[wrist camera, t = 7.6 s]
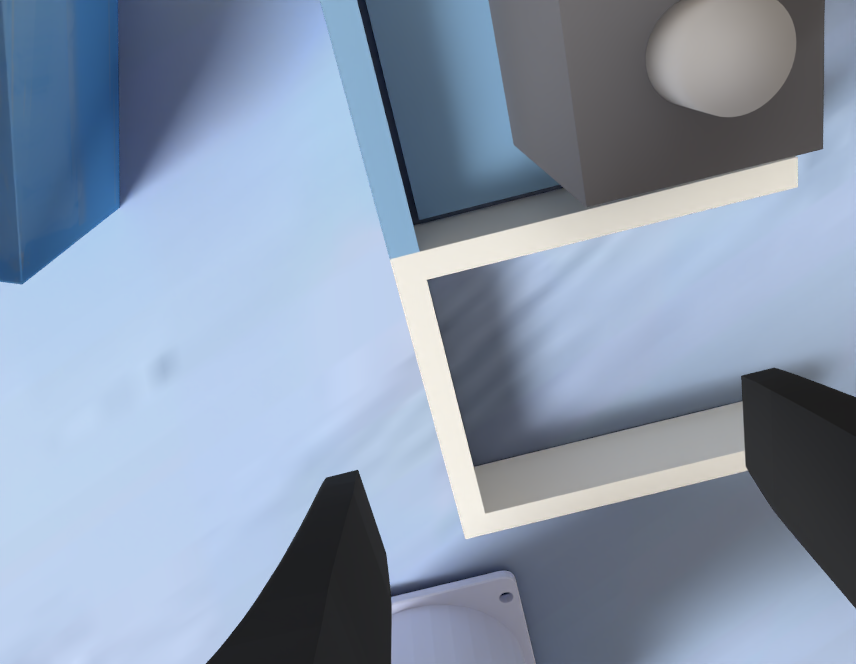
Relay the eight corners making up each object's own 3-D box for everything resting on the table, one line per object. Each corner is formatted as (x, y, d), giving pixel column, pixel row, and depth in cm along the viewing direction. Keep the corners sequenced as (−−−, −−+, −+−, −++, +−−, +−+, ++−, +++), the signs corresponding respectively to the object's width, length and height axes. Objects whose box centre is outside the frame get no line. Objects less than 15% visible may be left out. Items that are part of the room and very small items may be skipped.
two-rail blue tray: (759, 416, 24) (800, 457, 22) (456, 490, 25) (465, 539, 22) (735, -229, 17) (794, -267, 14) (294, -113, 17) (283, -133, 15)
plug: (672, 105, 19) (876, 164, 12) (513, 144, 19) (612, 229, 12) (657, -78, 18) (890, -152, 10) (482, -34, 18) (575, -72, 10)
